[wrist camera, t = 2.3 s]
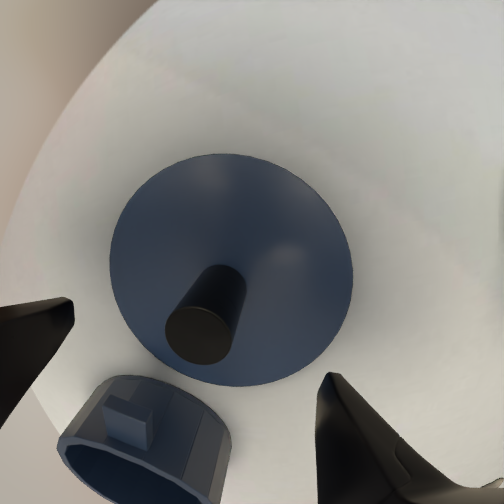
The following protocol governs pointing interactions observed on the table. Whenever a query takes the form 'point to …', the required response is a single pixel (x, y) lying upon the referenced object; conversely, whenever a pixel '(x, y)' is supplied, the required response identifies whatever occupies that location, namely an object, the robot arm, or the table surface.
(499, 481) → the sculpture
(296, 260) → the lid
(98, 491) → the pot
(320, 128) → the table surface
